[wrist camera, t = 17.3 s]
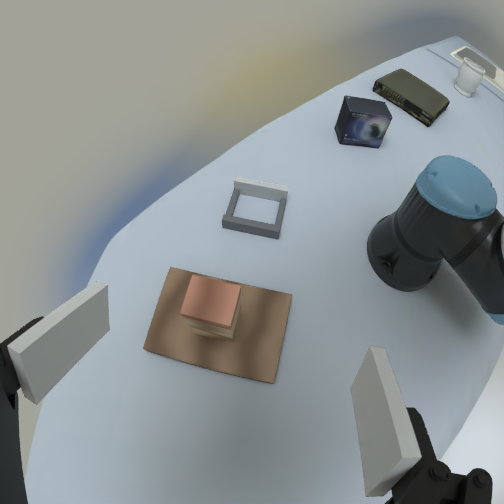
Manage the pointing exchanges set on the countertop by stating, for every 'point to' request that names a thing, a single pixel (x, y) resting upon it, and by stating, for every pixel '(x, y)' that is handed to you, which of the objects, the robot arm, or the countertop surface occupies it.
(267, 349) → the walnut board
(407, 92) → the network switch
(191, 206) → the countertop surface
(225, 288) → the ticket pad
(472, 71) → the jar
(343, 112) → the small box
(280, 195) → the frame
